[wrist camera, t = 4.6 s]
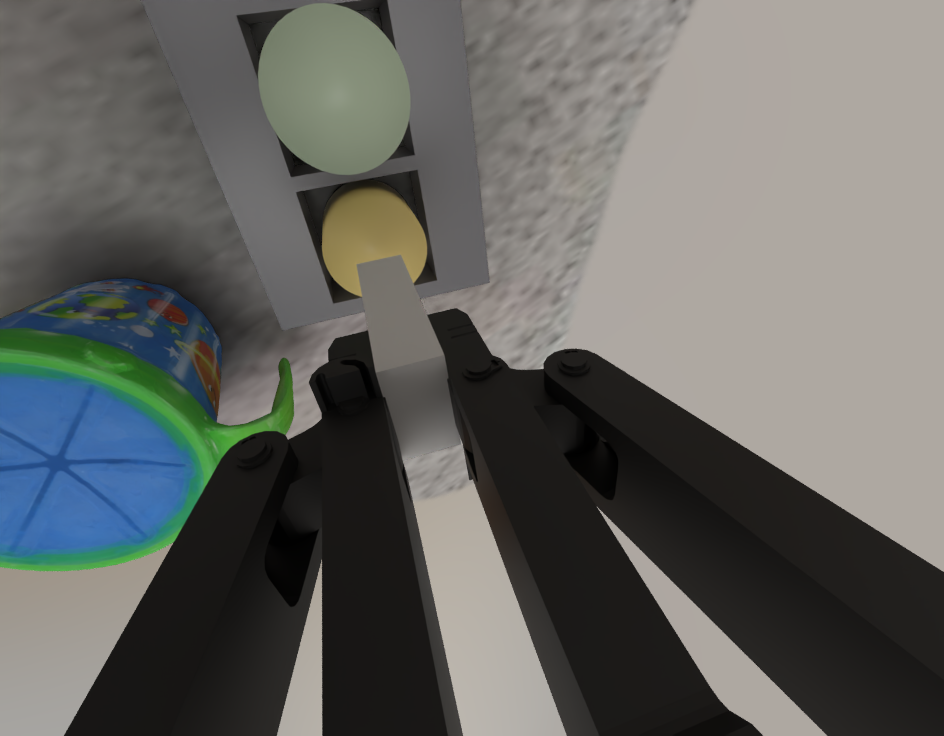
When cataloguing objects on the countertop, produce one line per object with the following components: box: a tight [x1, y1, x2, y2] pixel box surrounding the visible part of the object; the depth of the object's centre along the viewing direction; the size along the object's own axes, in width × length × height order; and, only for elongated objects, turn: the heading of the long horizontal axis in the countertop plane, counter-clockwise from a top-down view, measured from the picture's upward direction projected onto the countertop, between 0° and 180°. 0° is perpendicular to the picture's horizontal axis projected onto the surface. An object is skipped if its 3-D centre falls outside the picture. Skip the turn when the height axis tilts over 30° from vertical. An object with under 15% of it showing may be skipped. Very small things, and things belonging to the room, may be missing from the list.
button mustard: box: [322, 180, 427, 297], centre depth 21 cm, size 5×5×4 cm
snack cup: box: [0, 278, 294, 571], centre depth 19 cm, size 16×10×10 cm
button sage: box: [258, 3, 410, 175], centre depth 15 cm, size 5×5×4 cm
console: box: [141, 0, 490, 331], centre depth 19 cm, size 19×11×3 cm, turn 7°
